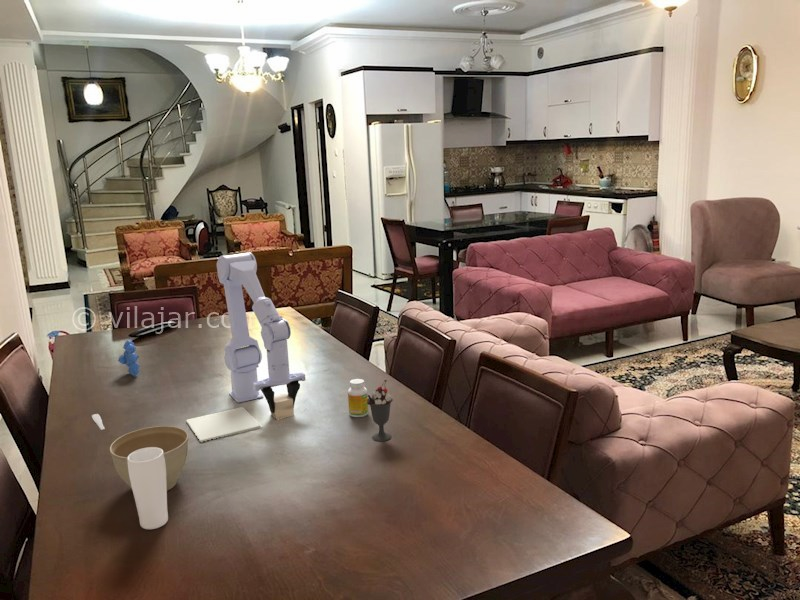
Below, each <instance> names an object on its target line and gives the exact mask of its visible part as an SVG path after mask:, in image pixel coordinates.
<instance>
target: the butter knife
mask: <svg viewBox="0 0 800 600" xmlns="http://www.w3.org/2000/svg"><path fill="white" fill-rule="evenodd" d="M91 418H92V420H93V421H94V422H95V423H96V425H97V426H98V428H99V430H105V429H106V428H105V425H104V424H103V420H102V417H101V416H100V414H99V413H94V414H91Z"/></svg>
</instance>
